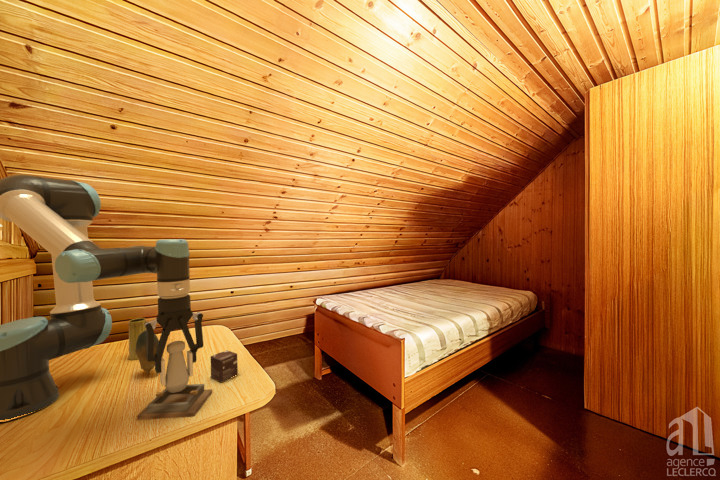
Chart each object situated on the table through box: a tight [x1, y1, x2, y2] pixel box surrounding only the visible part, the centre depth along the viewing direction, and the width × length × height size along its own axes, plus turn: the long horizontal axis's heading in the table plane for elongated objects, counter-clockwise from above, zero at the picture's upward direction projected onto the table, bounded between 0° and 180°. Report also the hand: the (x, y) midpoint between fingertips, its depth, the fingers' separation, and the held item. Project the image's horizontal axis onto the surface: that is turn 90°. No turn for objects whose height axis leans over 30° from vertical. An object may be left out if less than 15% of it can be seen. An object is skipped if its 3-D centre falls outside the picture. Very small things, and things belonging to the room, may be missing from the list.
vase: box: [128, 317, 147, 361], centre depth 111 cm, size 6×6×14 cm
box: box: [210, 350, 239, 383], centre depth 95 cm, size 6×6×7 cm
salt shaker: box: [164, 340, 190, 393], centre depth 80 cm, size 6×6×13 cm
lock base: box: [136, 383, 213, 420], centre depth 80 cm, size 14×11×4 cm
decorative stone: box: [135, 330, 160, 375], centre depth 97 cm, size 10×6×15 cm, turn 65°
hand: (176, 378), depth 80 cm, fingers closed on salt shaker, 6 cm apart
